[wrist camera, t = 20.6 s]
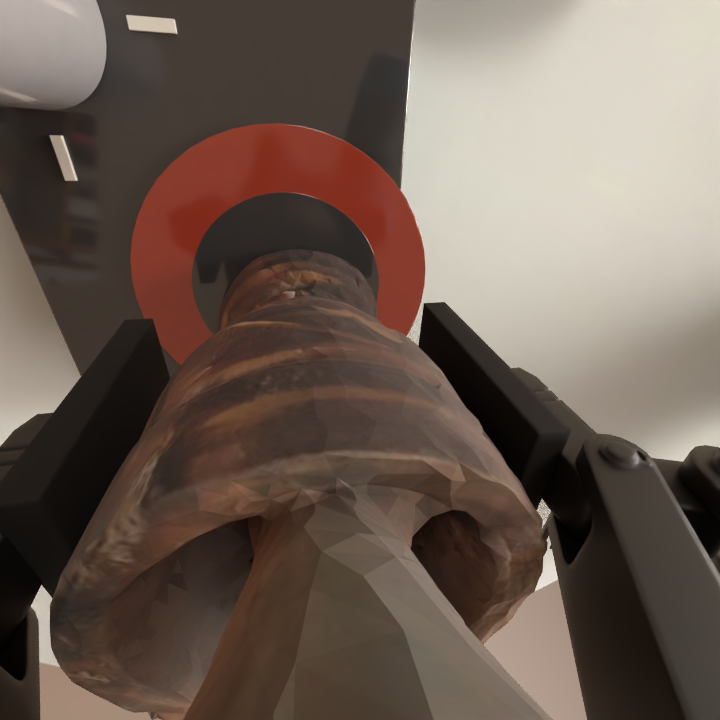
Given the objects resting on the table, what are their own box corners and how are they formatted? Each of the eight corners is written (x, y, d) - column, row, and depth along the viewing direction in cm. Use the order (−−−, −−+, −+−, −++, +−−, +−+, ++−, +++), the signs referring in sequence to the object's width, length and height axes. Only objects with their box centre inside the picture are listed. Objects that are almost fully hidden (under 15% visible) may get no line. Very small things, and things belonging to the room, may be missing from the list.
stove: (403, -104, 13) (430, -152, 11) (375, 361, 23) (386, 385, 21) (-201, -202, 10) (-336, -297, 8) (73, 386, 20) (49, 418, 18)
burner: (441, 129, 15) (444, 129, 15) (409, 388, 22) (410, 391, 22) (83, 115, 13) (79, 115, 12) (173, 412, 19) (172, 415, 19)
